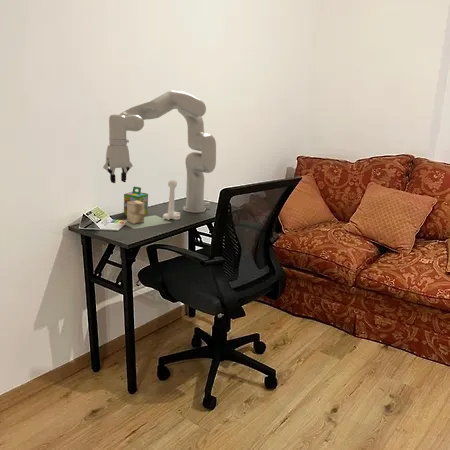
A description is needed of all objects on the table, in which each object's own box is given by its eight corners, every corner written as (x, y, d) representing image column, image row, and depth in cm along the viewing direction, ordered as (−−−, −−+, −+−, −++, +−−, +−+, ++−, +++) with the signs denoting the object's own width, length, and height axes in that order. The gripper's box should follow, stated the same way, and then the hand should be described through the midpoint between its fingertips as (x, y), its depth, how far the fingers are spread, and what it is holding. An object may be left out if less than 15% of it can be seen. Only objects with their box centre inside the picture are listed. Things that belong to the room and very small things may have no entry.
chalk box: (123, 215, 243) (123, 187, 239) (133, 212, 251) (133, 184, 247) (138, 218, 240) (138, 190, 235) (148, 214, 248) (148, 187, 243)
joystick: (173, 215, 249) (175, 177, 244) (185, 218, 246) (187, 179, 240) (160, 219, 239) (162, 180, 234) (173, 222, 236) (175, 182, 231)
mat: (155, 216, 246) (155, 215, 246) (171, 223, 235) (171, 222, 235) (118, 221, 233) (118, 220, 233) (133, 229, 222) (133, 228, 222)
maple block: (137, 219, 236) (137, 200, 233) (144, 222, 232) (144, 203, 229) (127, 221, 233) (127, 201, 230) (133, 224, 228) (133, 204, 225)
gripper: (130, 141, 223) (130, 179, 229) (96, 142, 213) (97, 182, 218) (138, 143, 218) (138, 182, 223) (104, 144, 207) (105, 185, 213)
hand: (118, 181), depth 221 cm, fingers open, 4 cm apart
